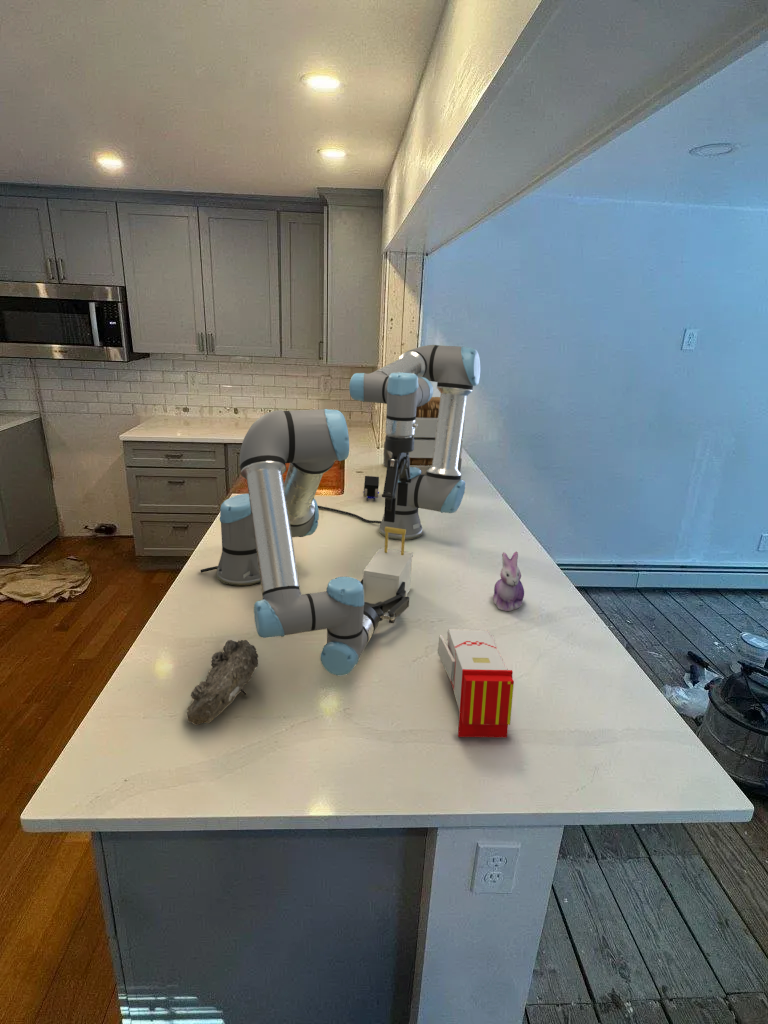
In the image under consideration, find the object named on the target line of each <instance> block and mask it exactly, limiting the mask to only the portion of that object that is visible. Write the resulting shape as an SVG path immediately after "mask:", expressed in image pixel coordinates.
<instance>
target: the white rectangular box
mask: <svg viewBox="0 0 768 1024" xmlns="http://www.w3.org/2000/svg"><path fill="white" fill-rule="evenodd" d="M388 533H395V534H402V540H401V547H400V550H398V549H391V548H388V547H389V546H388V545H389V538H388ZM405 534H406V529H399V528H392V527H385V537H384V547H379V548H378V550H377V551H376V552H375V554H374V555H373V556H372V558H371V559H370V561H369V562H368V563H367V564H366V566H365V568H364V569H363V570H362V576H363V575H367V576H373V577H380V578H386V579H392V580H398V581H399V580H400V578H401V576H402V575H403V573H404V571H405V569H406V568H407V566H408V564H409V562H410V561H411V559H412V560H413V558H414V552H411V551H405V542H406V540H405Z"/></svg>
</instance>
